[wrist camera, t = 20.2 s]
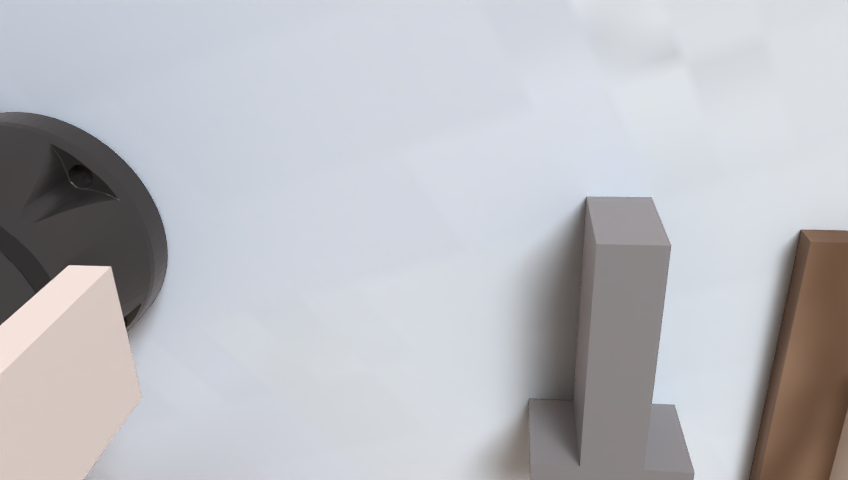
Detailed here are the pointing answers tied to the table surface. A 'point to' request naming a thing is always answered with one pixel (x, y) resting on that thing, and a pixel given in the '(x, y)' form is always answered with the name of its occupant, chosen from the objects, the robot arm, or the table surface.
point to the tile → (841, 455)
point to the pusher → (614, 359)
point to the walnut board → (808, 366)
